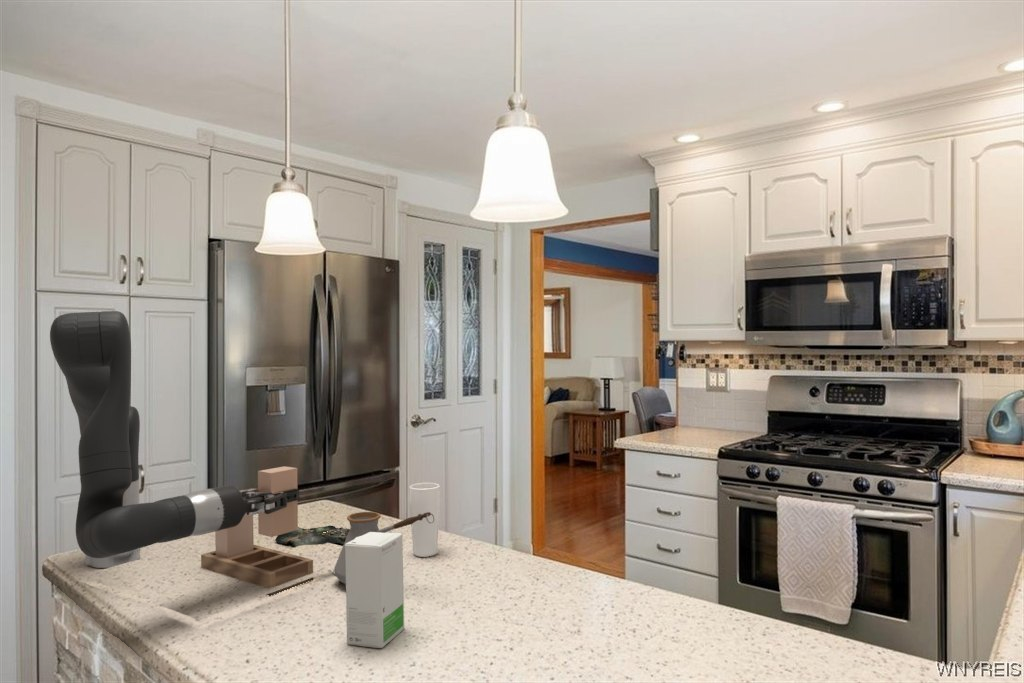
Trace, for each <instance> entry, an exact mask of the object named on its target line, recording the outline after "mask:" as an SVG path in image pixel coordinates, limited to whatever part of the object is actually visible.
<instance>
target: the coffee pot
mask: <svg viewBox="0 0 1024 683" xmlns="http://www.w3.org/2000/svg"><path fill="white" fill-rule="evenodd" d="M430 515H432V516H433V514H431V513H430V512H427V513H424V514H422V515H421V514H418V516H415V517H410V516H409V517H408V518H406V519H405V518H404V519H403V520H401V521H399V522H398V521H397V522H396V523H394V524H393V525H390V526H385V527H384V528H380V529H379V526H378V524H379V519H380V518H382V517H381V516H382V515H381V514H380V513H378V512H375V511H374V512H373V511H361V512H354V513H351V514H349V515H348V516H346V520H347V521H348V522H349V525H350V528H349V529H350V530H349V533H348V535H347V538H346V540H345V543H343V544H342V548H341V551H340V552H339V556H338V557H337V560H336V563H335V565H334V569H333V572H334V575H335V577H336V578H337V579H338V580H339V581H340V583H342V584H344V583H345V584H344V586H345V585H346V558H345V544H346V543H348V542H350V541H352V540H354V539H355V538H356V537H359V536H362V535H364V534H366V533H369V532H381V533H389V532H390V531H394V530H396V529H399V528H403V527H407V526H411V524H413V523H414V522H416V521H418V520H420V521H421V520H422V519H423V518H426V519H427V521H428V518H427V517H428V516H430ZM428 522H429V521H428ZM433 522H434V516H433ZM433 522H432V523H433ZM429 523H431V522H429Z"/></svg>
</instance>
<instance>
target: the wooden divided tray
mask: <svg viewBox="0 0 1024 683" xmlns="http://www.w3.org/2000/svg"><path fill="white" fill-rule="evenodd" d="M200 562H201V563H200V566H201V567H200V568H202V569H205V570H209V571H211V572H215V573H218V574H221V575H224V576H228V577H231V578H234V579H238V580H240V581H244V582H247V583H250V584H254V585H257V586H260V587H263V588H267V589H272V588H274V587H278V586H280V585H283V584H286V583H290V582H292V581H294V580H297V579H300V578H303V577H306V576H308V575H311V574H313V573H314V560H313V559H311V558H307V557H303V556H299V555H296V554H291V553H288V552H284V551H280V550H275V549H272V548H269V547H268V548H267V547H265V546H260V545H257V544H254V551H250V552H247V553H244V554H241V555H237V556H234V557H231V558H227V559H225V558H222V557H218V556H216V550H214V551H210V552H206V553H203V554H200ZM311 580H312V581H314V577H310V578H307V579H304V580H301V581H299V582H297V583H294V584H290V585H288V586H284V587H283V588H279V589H277V590H274V591H272V592H270V593H266V594H265V596H267V595H269V596H268V597H272V596H275V595H278V594H280V593H283V592H285V591H284V590H286V591H288V590H290V588H291V589H293V588H292V587H294V588H296V587H299V586H301V585H300V584H302V585H304V584H306V582H307V583H309V582H308V581H310V582H312V581H311ZM303 583H304V584H303ZM298 585H299V586H298ZM295 586H296V587H295ZM287 589H288V590H287ZM282 591H283V592H282ZM279 592H280V593H279ZM277 593H278V594H277ZM274 594H275V595H274ZM271 595H272V596H271Z"/></svg>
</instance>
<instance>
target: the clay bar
mask: <svg viewBox="0 0 1024 683" xmlns="http://www.w3.org/2000/svg"><path fill="white" fill-rule="evenodd" d="M257 489H258V490H259V492H263V491H270V492H272V493H275V492H279V491H286V490H291V489H298V490H299V488H298V468H297V467H292V466H279V467H274V468H267V469H262V470H258V471H257ZM264 498H265V499H266V495H264ZM298 503H299V499H298V500H296V501H292V502H288V503H287V507H285V508H283V509H280V510H277V511H275V512H272V513H269V514H265V513H264V511H262V512H257V516H258V518H257V519H258V522H257V523H258V525H257V526H258V528H257V530H258V531H257V532H258V533H257V534H258V535H262V536H266V537H270V538H273V537H277V535H281V534H284V533H288V532H292V531H295V530H298V527H299V521H298V520H299V518H298V517H299V516H298V514H299V513H298V512H299V510H298V509H299V508H298V507H299V506H298Z"/></svg>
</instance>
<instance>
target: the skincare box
mask: <svg viewBox="0 0 1024 683" xmlns="http://www.w3.org/2000/svg"><path fill="white" fill-rule="evenodd" d="M403 535H404V534H403V533H399V532H385V533H381V532H369V533H366V534H364V535H362V536H359V537H356V538H355V539H354V540H352V541H350V542H348V543H346V544H345V558H346V586H345V605H346V606H345V607H346V608H345V612H346V613H345V614H346V615H345V616H346V644H347V645H351V646H358V647H366V648H374V649H382V648H384V647H385V646H386V645H387V644H388V643H390V642H391V641H392V640H393V639H394V638H395V637H397V635H399V633H401V632H402V631H403V630H404V629H405V600H404V599H405V598H404V596H405V592H404V553H403V552H404V550H403V549H404V547H403V544H404V543H403Z"/></svg>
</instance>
